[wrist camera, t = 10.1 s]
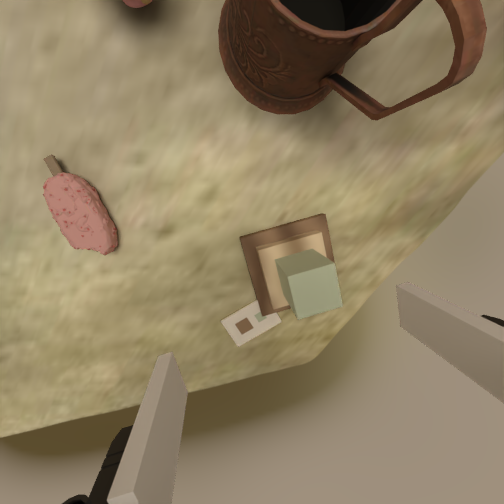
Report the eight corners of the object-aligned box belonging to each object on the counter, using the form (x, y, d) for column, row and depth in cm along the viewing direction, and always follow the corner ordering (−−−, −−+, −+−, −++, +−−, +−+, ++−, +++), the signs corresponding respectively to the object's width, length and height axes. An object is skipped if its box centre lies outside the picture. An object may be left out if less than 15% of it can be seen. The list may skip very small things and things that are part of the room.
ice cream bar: (62, 144, 32) (119, 250, 35) (79, 150, 36) (129, 244, 40) (13, 162, 32) (76, 267, 35) (37, 167, 36) (91, 260, 39)
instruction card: (238, 346, 46) (238, 347, 45) (220, 320, 44) (220, 321, 44) (281, 320, 45) (282, 322, 45) (265, 294, 44) (265, 295, 43)
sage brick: (283, 294, 40) (298, 319, 32) (274, 259, 38) (287, 276, 31) (319, 284, 40) (342, 306, 32) (312, 248, 38) (334, 263, 31)
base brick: (261, 312, 44) (264, 324, 41) (239, 236, 41) (241, 241, 37) (336, 290, 45) (347, 299, 41) (321, 213, 42) (332, 215, 38)
